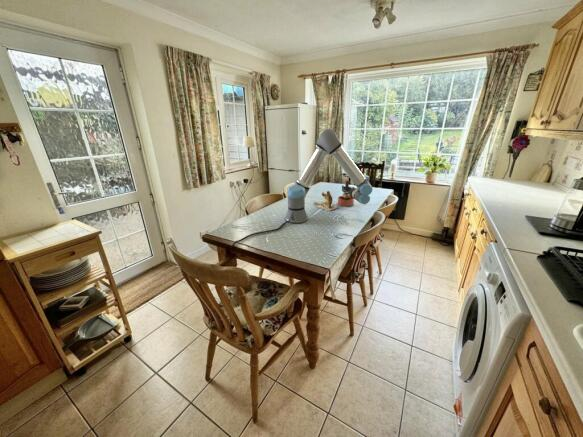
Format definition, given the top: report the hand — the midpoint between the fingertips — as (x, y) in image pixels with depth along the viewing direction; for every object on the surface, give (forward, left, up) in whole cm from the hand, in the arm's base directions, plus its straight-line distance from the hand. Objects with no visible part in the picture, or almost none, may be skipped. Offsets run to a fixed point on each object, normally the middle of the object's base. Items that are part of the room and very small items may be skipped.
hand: (344, 186), depth 197 cm
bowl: (-1, -5, -14) cm, 15 cm away
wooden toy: (-20, -2, -14) cm, 25 cm away
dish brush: (-1, -5, -9) cm, 11 cm away
